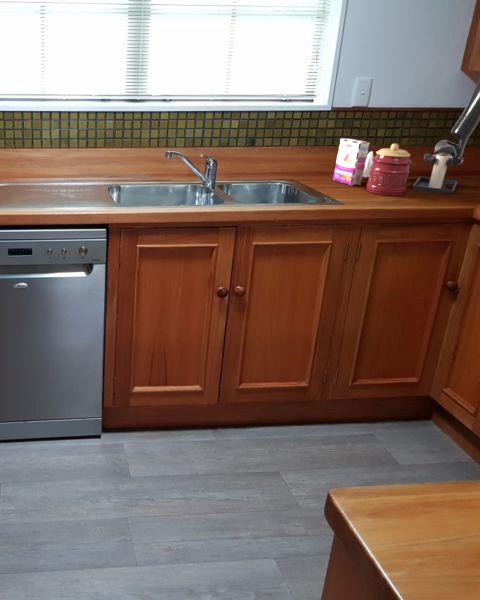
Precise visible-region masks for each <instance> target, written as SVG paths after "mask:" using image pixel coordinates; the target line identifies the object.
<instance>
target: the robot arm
mask: <svg viewBox="0 0 480 600" xmlns="http://www.w3.org/2000/svg"><path fill="white" fill-rule="evenodd" d="M477 81H478V82H477V84H476V86H475V87H474V89H473V92H472V94H471V97H470V99H469V101H468V102H467V104H466V107H465V108H464V110H463V112H462V113H461V115H460V116H459V118H458V119H457V121H456V123H455V124H454V126H453V127H452V129H451V131H450V134H451V135H452V136H453V137H454V138H456V139H457V140H458V144H457V143H454V142H452V141H450V140H447V139H441V140H440V141H438V143H436V145H435V146H434V150H433V154H430V153H428V152H426V153H425V152H424V155H423V161H424V162H425V163H431V164H432V165H434V163H435V159H436V155H440V154H441V153H443V152H444V153H446V155H447V156H450V157H449V159H448V163H447V167H450V166H452V165H453V166H460V165H463V164H464V159H465V157H464V156H463V153H464V150H465V146H466V145H467V142H468V139H469V138H470V136H471V135H472V133H473V131H474V130H475V128H476V127H477V125H478V124H479V122H480V78H479V79H478V80H477Z"/></svg>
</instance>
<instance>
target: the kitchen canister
mask: <svg viewBox="0 0 480 600" xmlns="http://www.w3.org/2000/svg"><path fill="white" fill-rule="evenodd" d="M375 153H376V155H375V156H373V158H372V160H373V165H372V166H371V167H370V168H371V170H370V174H369V177H368V178H367V179H368V180H367V183H366V189H365V190H366V191H367V192H369V193H371V194H375V195H381V196H387V197H388V196H389V197H390V196H391V197H396V196H403V195H404V193H405V191H406V185H407V181H408V178H409V177H408V176H409V173H410V170H409V169H410V165H411V164H412V160H410V157H411V154H410V153H409V152H408V150H405V149H400V145H399V144H398V143H392V144H391V145H390V148H385V147H384V148H380V149H379V150H377V151H376V152H375Z"/></svg>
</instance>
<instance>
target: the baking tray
mask: <svg viewBox="0 0 480 600" xmlns="http://www.w3.org/2000/svg"><path fill="white" fill-rule="evenodd" d="M430 178H431V177H428V176H419V177H418V178H417V179H416V181H415V182H414V183H413V184H412V186H411V190H412V191H420V192H427V193H434V194H435V193H436V194H450V195H453V194H454V193H455V190H456V188H457V186H458V183H459V180H452V179H445V178H444V179H443V183H442V187H441V188H431V187H429V182H430ZM447 185H451V186H452V188H451V189H446V186H447Z"/></svg>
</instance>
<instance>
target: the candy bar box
mask: <svg viewBox="0 0 480 600" xmlns="http://www.w3.org/2000/svg"><path fill="white" fill-rule="evenodd" d="M370 145H371V142H368V141H364V140H359V139H354V138H340V140H339V146H338V150H337V156H336V161H335V166H334V171H333V175H332V181H335V182H337V183H341V184H344V185H346V186H347V185H348V186H351V187H356V186H362V183H363V179H362V178H363V173H364V168H365V164H366V159H367V155H368V154H369V150H370Z"/></svg>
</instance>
